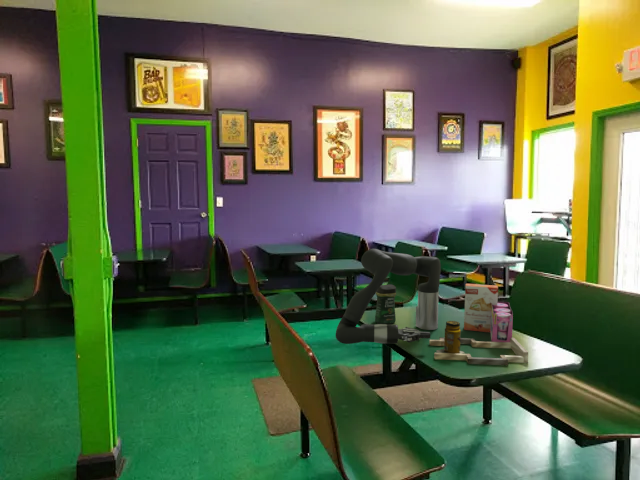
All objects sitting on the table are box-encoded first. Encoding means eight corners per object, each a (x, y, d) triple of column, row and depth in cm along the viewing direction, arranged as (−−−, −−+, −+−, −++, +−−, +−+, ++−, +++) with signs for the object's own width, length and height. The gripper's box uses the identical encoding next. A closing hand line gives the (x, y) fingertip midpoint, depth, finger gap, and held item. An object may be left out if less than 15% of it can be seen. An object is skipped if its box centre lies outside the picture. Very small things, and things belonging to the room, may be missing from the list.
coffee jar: (380, 325, 213) (380, 287, 211) (372, 321, 220) (373, 284, 218) (398, 323, 216) (398, 285, 214) (390, 319, 223) (390, 282, 222)
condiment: (464, 352, 176) (465, 323, 175) (450, 357, 171) (451, 326, 170) (450, 347, 182) (450, 318, 181) (435, 351, 177) (436, 322, 176)
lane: (436, 362, 165) (436, 352, 165) (428, 341, 189) (428, 332, 189) (531, 366, 161) (531, 355, 161) (511, 344, 185) (511, 335, 185)
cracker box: (463, 330, 204) (465, 285, 202) (464, 326, 210) (465, 283, 208) (496, 333, 200) (498, 287, 198) (496, 329, 206) (497, 284, 203)
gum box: (512, 348, 180) (514, 315, 179) (491, 346, 183) (492, 313, 181) (508, 331, 203) (509, 301, 201) (489, 329, 205) (490, 300, 204)
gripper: (386, 329, 172) (432, 331, 170) (385, 320, 185) (428, 321, 183) (386, 348, 173) (432, 350, 171) (385, 337, 186) (427, 339, 184)
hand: (430, 335), depth 177 cm, fingers closed
